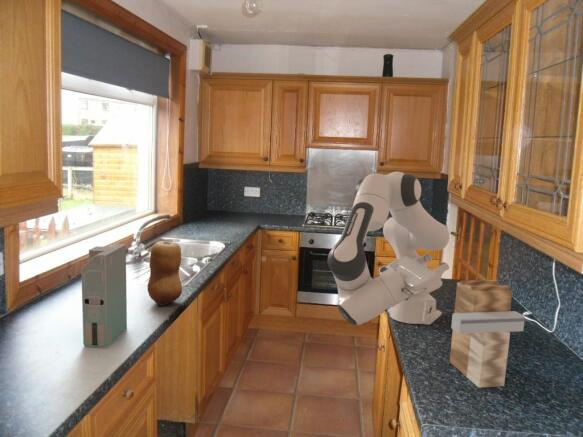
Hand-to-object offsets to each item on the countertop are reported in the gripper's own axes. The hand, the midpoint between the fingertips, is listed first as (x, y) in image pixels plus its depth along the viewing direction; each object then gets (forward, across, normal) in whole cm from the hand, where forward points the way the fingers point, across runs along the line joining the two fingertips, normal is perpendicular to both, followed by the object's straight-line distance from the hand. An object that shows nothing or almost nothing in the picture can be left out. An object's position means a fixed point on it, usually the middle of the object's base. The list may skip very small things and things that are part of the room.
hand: (438, 260), depth 139 cm
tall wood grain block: (-1, +5, +42) cm, 42 cm away
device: (-98, +45, -14) cm, 109 cm away
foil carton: (+4, 0, +26) cm, 27 cm away
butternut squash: (-83, +78, -6) cm, 114 cm away
